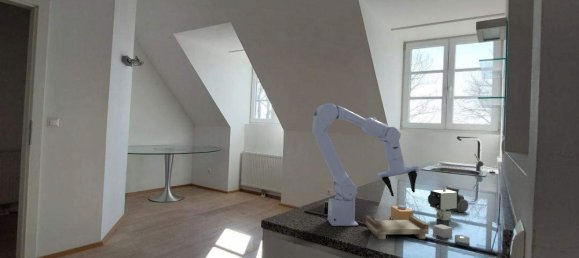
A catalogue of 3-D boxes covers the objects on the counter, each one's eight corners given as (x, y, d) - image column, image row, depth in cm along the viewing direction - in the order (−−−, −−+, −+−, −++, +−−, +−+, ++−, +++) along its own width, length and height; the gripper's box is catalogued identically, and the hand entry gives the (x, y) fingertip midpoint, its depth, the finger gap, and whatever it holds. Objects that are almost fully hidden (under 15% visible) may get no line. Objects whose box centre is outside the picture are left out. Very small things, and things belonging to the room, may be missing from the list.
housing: (401, 226, 111) (401, 209, 111) (389, 217, 121) (389, 203, 121) (414, 226, 111) (415, 209, 111) (401, 217, 122) (402, 203, 122)
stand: (376, 239, 97) (376, 224, 97) (365, 228, 107) (365, 215, 107) (428, 238, 98) (428, 224, 98) (413, 228, 108) (413, 215, 108)
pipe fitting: (433, 205, 141) (437, 183, 140) (446, 206, 143) (450, 184, 143) (455, 216, 129) (459, 192, 129) (469, 216, 132) (474, 192, 131)
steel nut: (459, 246, 93) (460, 239, 93) (451, 241, 97) (451, 234, 97) (472, 245, 93) (472, 239, 93) (463, 241, 97) (463, 234, 97)
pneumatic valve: (460, 220, 120) (461, 189, 120) (436, 222, 116) (436, 190, 116) (449, 216, 125) (449, 186, 125) (425, 218, 122) (425, 187, 122)
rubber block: (443, 238, 99) (443, 229, 99) (433, 234, 103) (433, 225, 103) (452, 237, 101) (452, 227, 101) (441, 233, 105) (441, 224, 105)
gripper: (411, 152, 119) (419, 186, 119) (373, 160, 121) (381, 194, 121) (416, 155, 112) (425, 191, 112) (376, 164, 114) (384, 199, 114)
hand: (403, 193), depth 116 cm, fingers open, 7 cm apart
